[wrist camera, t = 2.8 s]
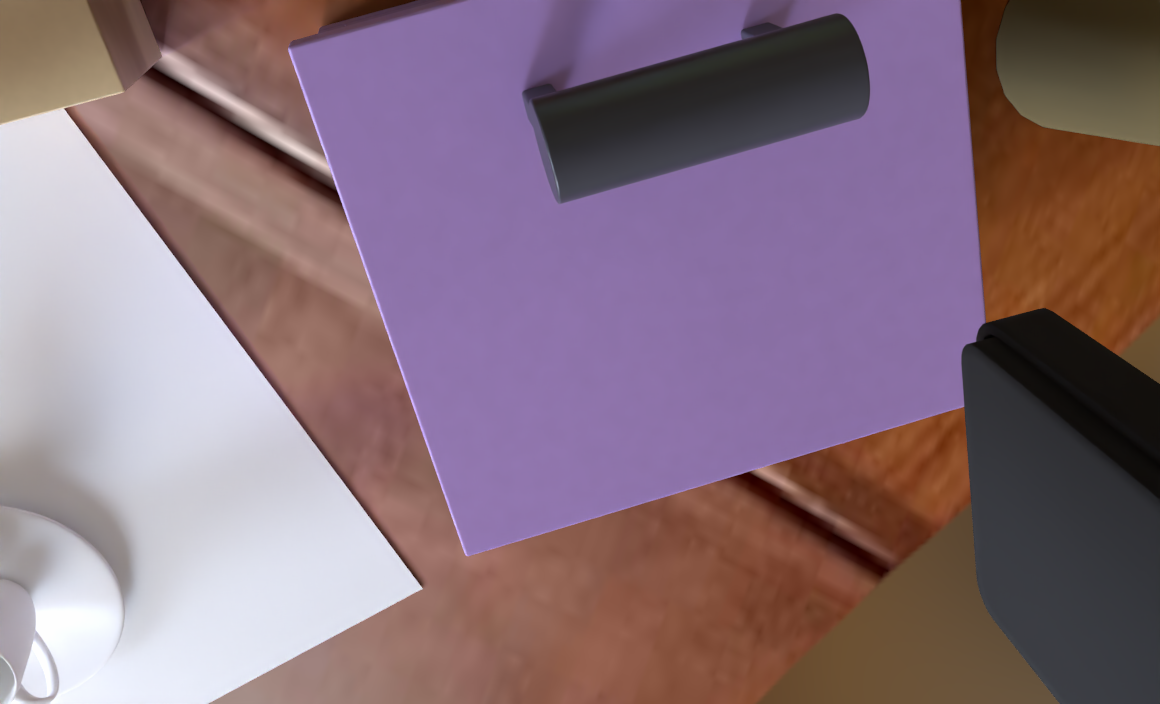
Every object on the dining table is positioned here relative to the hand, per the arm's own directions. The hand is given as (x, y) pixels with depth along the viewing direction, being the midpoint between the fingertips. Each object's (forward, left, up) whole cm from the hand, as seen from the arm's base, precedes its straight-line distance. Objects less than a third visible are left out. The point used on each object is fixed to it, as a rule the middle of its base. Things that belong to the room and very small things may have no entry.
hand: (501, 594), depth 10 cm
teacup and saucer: (+14, -14, -25) cm, 31 cm away
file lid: (+2, +6, -16) cm, 18 cm away
